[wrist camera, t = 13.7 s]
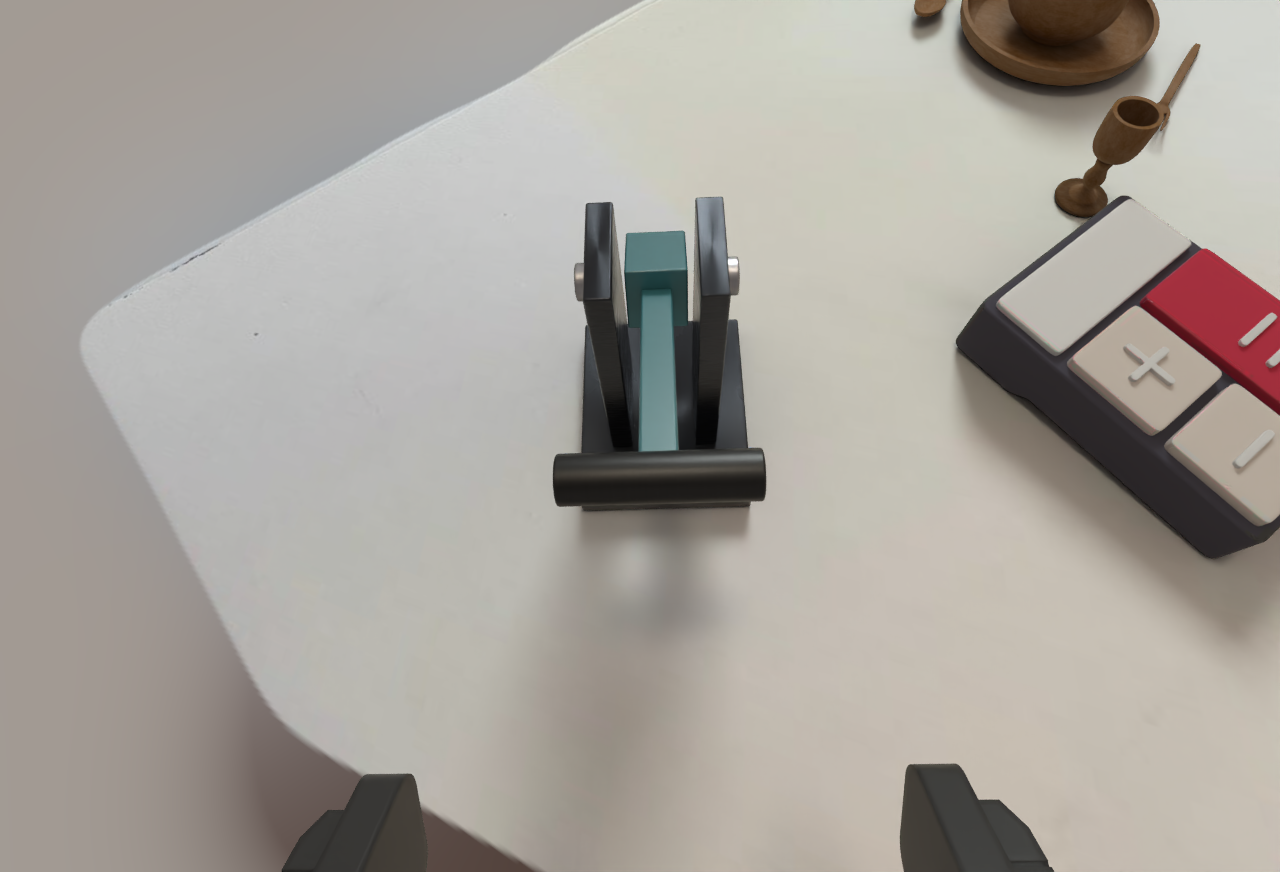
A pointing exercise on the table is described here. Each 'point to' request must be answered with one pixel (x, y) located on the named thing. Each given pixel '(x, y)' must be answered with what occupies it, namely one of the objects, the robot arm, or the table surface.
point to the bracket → (700, 347)
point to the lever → (658, 405)
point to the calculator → (1150, 369)
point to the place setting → (1075, 68)
